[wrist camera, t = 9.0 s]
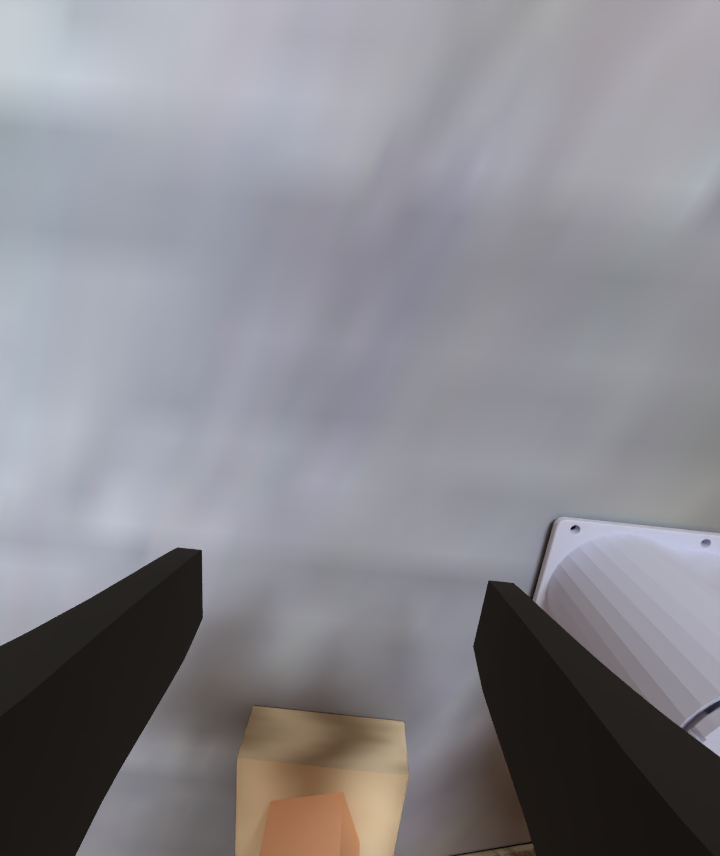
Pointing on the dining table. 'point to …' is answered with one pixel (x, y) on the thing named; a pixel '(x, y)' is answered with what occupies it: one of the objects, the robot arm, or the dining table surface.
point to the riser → (322, 772)
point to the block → (310, 827)
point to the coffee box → (507, 851)
